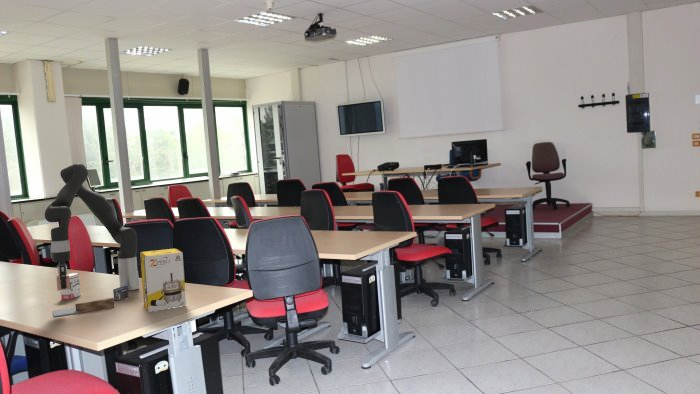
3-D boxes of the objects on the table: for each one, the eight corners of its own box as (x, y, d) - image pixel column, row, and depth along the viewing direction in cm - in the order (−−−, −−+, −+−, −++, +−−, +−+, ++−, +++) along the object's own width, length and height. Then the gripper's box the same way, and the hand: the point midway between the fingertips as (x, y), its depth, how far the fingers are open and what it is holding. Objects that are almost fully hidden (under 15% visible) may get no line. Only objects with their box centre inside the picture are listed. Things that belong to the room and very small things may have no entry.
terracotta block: (69, 287, 256) (68, 273, 256) (70, 289, 252) (69, 275, 252) (57, 288, 254) (56, 275, 254) (57, 290, 250) (56, 277, 249)
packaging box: (148, 312, 247) (144, 256, 245) (143, 305, 261) (140, 252, 260) (186, 306, 254) (182, 252, 253) (179, 299, 268) (175, 248, 267)
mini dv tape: (116, 301, 271) (115, 289, 271) (114, 301, 272) (113, 289, 271) (128, 297, 279) (127, 285, 279) (126, 297, 280) (125, 285, 279)
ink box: (69, 299, 280) (67, 276, 280) (61, 299, 281) (59, 276, 281) (81, 295, 289) (79, 272, 288) (72, 295, 290) (71, 273, 289)
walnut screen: (113, 306, 262) (113, 297, 261) (114, 306, 260) (113, 298, 260) (75, 312, 254) (75, 303, 254) (76, 312, 252) (75, 304, 252)
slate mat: (77, 308, 261) (77, 306, 261) (79, 313, 251) (78, 312, 251) (53, 311, 256) (53, 310, 256) (53, 317, 246) (53, 316, 246)
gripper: (71, 251, 248) (73, 289, 249) (69, 247, 260) (71, 283, 261) (51, 253, 244) (54, 291, 245) (51, 249, 256) (53, 286, 257)
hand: (63, 287), depth 253 cm, fingers closed on terracotta block, 5 cm apart
